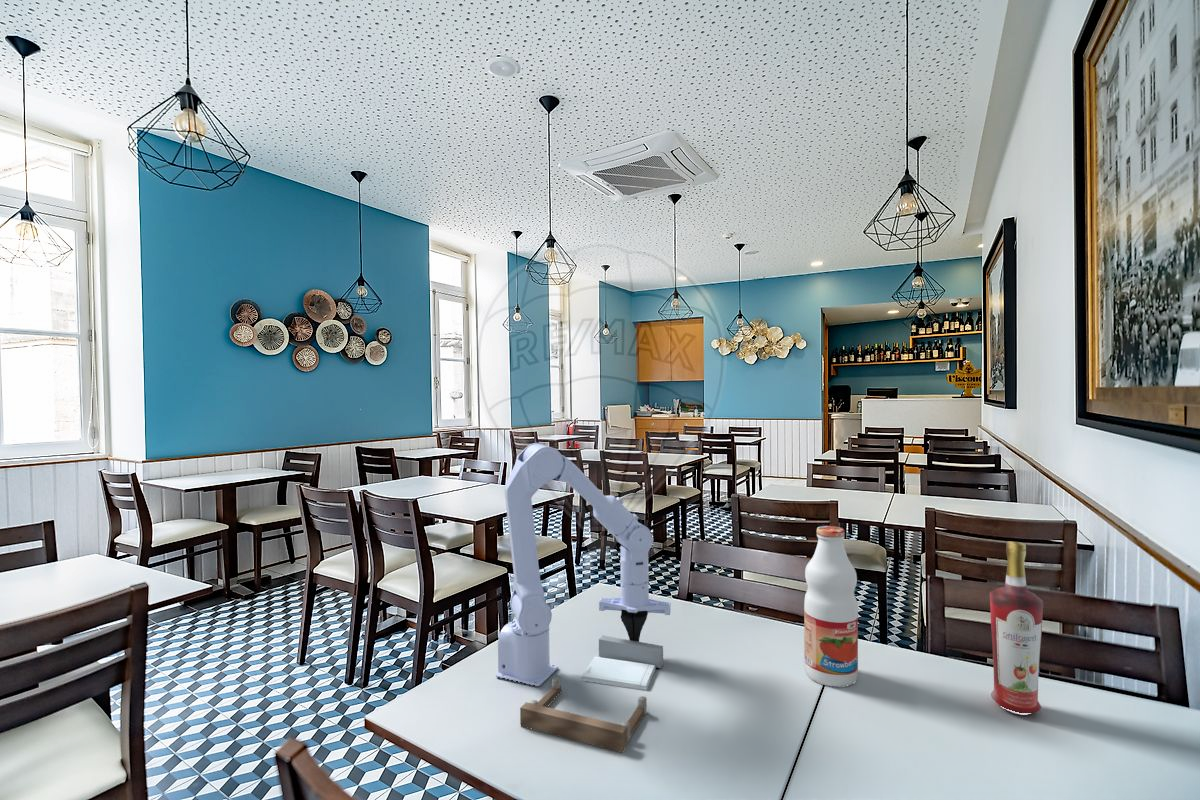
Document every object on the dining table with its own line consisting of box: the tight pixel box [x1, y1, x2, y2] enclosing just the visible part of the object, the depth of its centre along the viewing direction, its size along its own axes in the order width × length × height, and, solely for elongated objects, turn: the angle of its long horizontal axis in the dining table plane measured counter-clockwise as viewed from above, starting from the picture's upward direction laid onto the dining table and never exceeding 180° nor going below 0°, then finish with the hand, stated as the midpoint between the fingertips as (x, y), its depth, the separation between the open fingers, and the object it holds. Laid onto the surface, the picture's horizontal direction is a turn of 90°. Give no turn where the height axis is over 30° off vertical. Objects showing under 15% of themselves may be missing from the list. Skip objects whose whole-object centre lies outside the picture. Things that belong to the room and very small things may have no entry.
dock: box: [519, 677, 648, 753], centre depth 95 cm, size 18×12×3 cm, turn 67°
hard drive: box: [581, 656, 656, 691], centre depth 109 cm, size 2×8×12 cm
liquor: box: [989, 540, 1044, 714], centre depth 96 cm, size 7×7×28 cm
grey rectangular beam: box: [598, 635, 664, 669], centre depth 114 cm, size 13×2×4 cm, turn 67°
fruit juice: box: [803, 525, 859, 688], centre depth 108 cm, size 9×9×28 cm
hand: (635, 646), depth 117 cm, fingers closed
